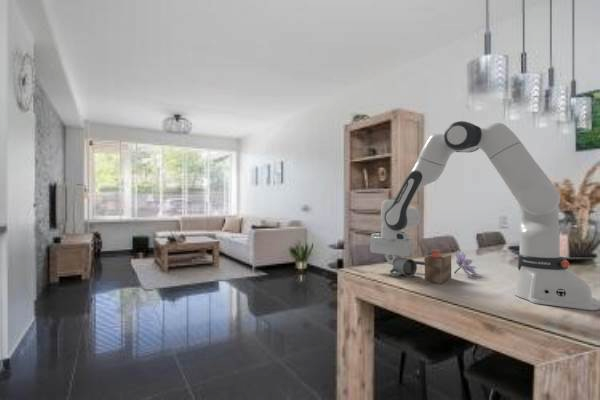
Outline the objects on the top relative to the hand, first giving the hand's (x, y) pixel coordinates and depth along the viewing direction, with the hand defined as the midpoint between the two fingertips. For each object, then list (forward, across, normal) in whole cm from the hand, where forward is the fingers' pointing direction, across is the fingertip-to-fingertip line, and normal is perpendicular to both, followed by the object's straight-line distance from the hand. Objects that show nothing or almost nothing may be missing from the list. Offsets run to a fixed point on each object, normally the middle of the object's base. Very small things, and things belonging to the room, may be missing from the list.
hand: (391, 264), depth 148 cm
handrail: (+4, +9, +8) cm, 13 cm away
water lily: (+4, +27, +17) cm, 32 cm away
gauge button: (-3, +21, -3) cm, 21 cm away
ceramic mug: (+4, +6, -1) cm, 7 cm away
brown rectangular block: (+4, +21, 0) cm, 21 cm away
